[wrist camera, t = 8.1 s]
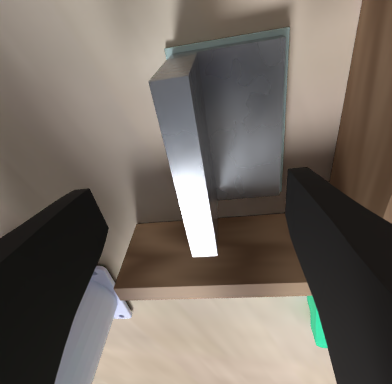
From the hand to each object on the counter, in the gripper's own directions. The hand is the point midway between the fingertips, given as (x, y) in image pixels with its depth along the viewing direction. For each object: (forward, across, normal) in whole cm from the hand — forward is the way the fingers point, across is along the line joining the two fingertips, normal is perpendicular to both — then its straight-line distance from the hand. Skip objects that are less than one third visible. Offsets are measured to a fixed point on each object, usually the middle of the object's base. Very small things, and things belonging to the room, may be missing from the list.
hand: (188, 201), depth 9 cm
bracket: (+6, -2, 0) cm, 6 cm away
